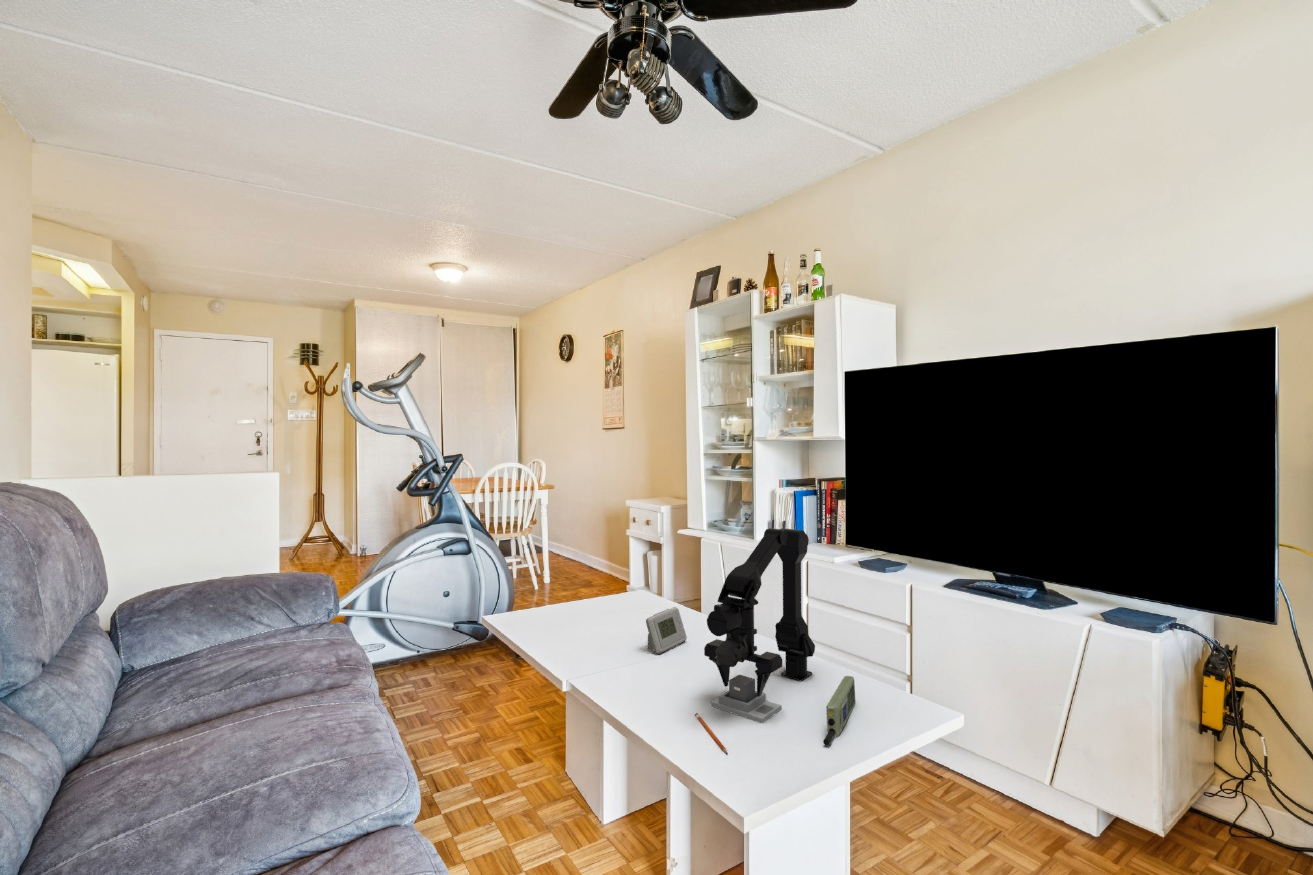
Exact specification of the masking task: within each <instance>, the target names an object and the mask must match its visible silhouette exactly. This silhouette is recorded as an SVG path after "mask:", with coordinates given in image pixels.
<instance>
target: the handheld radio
mask: <svg viewBox="0 0 1313 875" xmlns="http://www.w3.org/2000/svg"><path fill="white" fill-rule="evenodd" d="M855 686H856V684H855V677H854V676H852V675H844V677H843V678H842V679H841V681H840V683H839V685H838V687H837V688H836V690H835V691H834V693H833V695H832V696H831V698H830V700H829V702H827V704H826V710H825V711H826V727H827V728H826V730H827V733H826V735H825V737H824V739H823V745H824V746H826V747H827V746H830V744H831V741H832V739H833V737H834V736H836V737H835V738H838V737H840V734H841V733H842V730H843V728H844V727H845V725H846V722H847V721H848V719H849V717H850V715H851V714H852V711H853V709H854V707H855V705H856V687H855ZM837 736H838V737H837Z"/></svg>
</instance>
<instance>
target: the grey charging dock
mask: <svg viewBox="0 0 1313 875" xmlns="http://www.w3.org/2000/svg"><path fill="white" fill-rule="evenodd" d="M782 706H783V705H782V704H778V703H777V702H776V703H775V702H772V701H768V700H767V694H766V693H764V692H762V695H761V696H760V697H758V696H757V690H755V698H754V699H753V700H751V701H750V702H748V703H745V702H742V701H739V700H735V699H732V698H729V689H728V690H726V691H724V692H723V693H721V694H719V695H718V697H717V698H715V699H713V700H712V701H711V702H710V707H712V708H716V709H719V710H722V711H724V710H725V712H727V711H728V713H730V712H732V714H733V713H734V715H736V714H738V715H737V716H739V715H740V717H742V716H744V717H743V718H745V717H746V719H749V720H751V719H752V721H755V722H757V721H758V723H760V724H763V723H765V722H766V721H768V720H769V719H770V718H772V717H773V716H775V715H776V714H778V713H779V712H780V711H781V710H782V708H783V707H782ZM774 714H775V715H774ZM771 716H772V717H771Z"/></svg>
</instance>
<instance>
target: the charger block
mask: <svg viewBox="0 0 1313 875" xmlns="http://www.w3.org/2000/svg"><path fill="white" fill-rule="evenodd" d="M728 690H729V698H732V699H735V700H739V701H742V702H745V703H748V702H750V701H751V700H753V699H754V698H755V691H756V678H753V677H750V676H746V675H742V674H738V675H735V676H734V677H732V678H729V683H728Z"/></svg>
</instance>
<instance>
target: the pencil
mask: <svg viewBox="0 0 1313 875" xmlns="http://www.w3.org/2000/svg"><path fill="white" fill-rule="evenodd" d="M694 717H695V718H696V719H697V721H699V723H700V724H701V725H702V727H703V728H704V729H705V731H706V732H707V733H708V735H709V736H710V737H711V738H712V740H713V741H714V742H715V743H716V745H717V746H718V747H719V749H720V751H722V752H723V753H724V754H726V755H729V754H728V751H727V748H726V747H725V745H724V744H723V743H722V742H721V741H720V739H719V738H718V737H717V736H716V734H715V733H714V732H713V730H712V729H711V728H710V727H709V725H708V724H707V723H706V722H705V720H704V719H703V718H702V717H701V716H700V714H699V713H698V712H696V713H695V714H694Z"/></svg>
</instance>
